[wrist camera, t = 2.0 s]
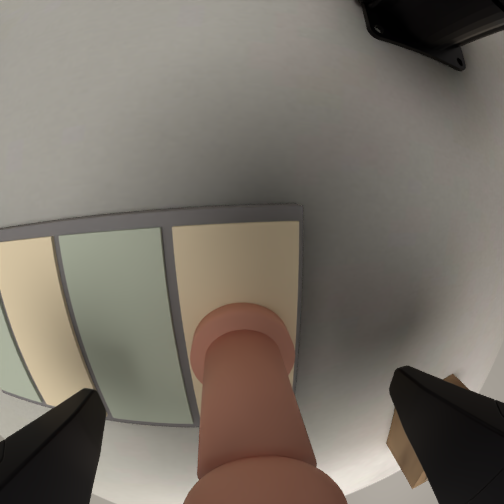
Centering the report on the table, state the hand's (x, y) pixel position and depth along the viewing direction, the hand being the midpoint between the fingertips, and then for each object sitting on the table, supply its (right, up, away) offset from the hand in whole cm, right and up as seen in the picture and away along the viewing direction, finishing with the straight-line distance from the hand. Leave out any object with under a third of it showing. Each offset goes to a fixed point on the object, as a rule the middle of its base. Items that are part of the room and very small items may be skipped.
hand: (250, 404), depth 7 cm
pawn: (0, +1, +3) cm, 3 cm away
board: (-7, +1, +4) cm, 8 cm away
